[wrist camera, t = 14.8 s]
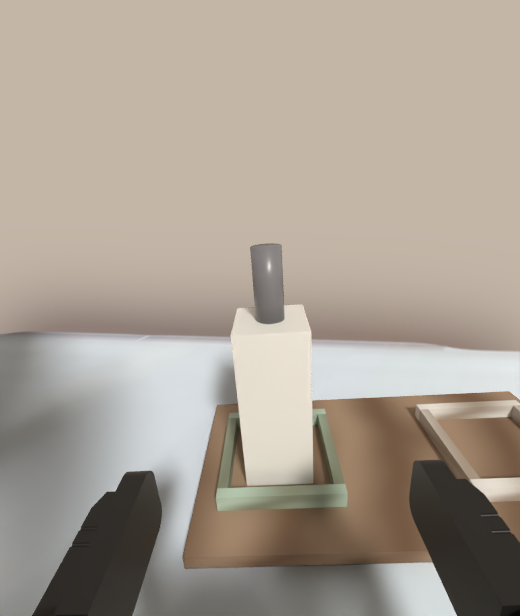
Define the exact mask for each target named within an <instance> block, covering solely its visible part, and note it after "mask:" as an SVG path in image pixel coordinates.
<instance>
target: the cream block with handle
mask: <svg viewBox="0 0 520 616" xmlns="http://www.w3.org/2000/svg"><path fill="white" fill-rule="evenodd" d="M250 250H251V262H252V276H253V287H254V301H255V307H252V308H238V309H237V313H236V316H235V320H234V324H233V329H232V332H231V343H232V352H233V362H234V371H235V380H236V389H237V399H238V408H239V417H240V426H241V435H242V445H243V454H244V463H245V472H246V482H247V486H260V485H288V484H313V423H312V353H311V329H310V326H309V323H308V320H307V317H306V314H305V311H304V308H303V305H286V306H284V292H283V269H282V246H281V245H280V244H259V245H254V246H251V247H250Z"/></svg>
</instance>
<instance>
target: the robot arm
mask: <svg viewBox="0 0 520 616" xmlns="http://www.w3.org/2000/svg"><path fill="white" fill-rule="evenodd" d="M409 504H410V510H411V514H412V517H413V520H414V522H415V524H416V526H417V529H418V531H419V533H420V535H421V537H422V540H423V542H424V544H425V546H426V548H427V551H428V553H429V555H430V557H431V559H432V561H433V564H434V566H435V568H436V570H437V572H438V575H439V577H440V579H441V581H442V583H443V586H444V588H445V590H446V592H447V594H448V597H449V599H450V601H451V603H452V605H453V607H454V610H455V612H456V614H457V616H520V542H519V541H518V540H517V538H516V537H515V535H514V534H512V533H511V532H510V529H509V527H508V526H507V524H506V523H505V522H504V520H503V519H502V518H501V517H499V515H498V512H497V511H496V509H495V508H494V507H493V505H492V504H491V503H490V501H489V500H488V498H487V497H486V496H485V494H484V493H482V492H481V491H480V490H479V489H477V488H476V487H475V486H474V485H473V484H471V483H470V482H469V481H468V480H467V479H456V478H455V476H454V475H453V473H452V472H451V471H450V469H449V468H448V466H447V465H446V463H445V462H444V461H443V460H417V461H414V463H413V468H412V476H411V485H410V493H409ZM161 516H162V508H161V502H160V498H159V494H158V490H157V485H156V481H155V477H154V473H153V472H152V471H135V472H126V473H125V474H124V476H123V478H122V480H121V482H120V484H119V486H118V488H117V490H116V492H106V493H105V495H104V496H103V497H102V498H101V499H100V500H99V501H98V502H97V503H96V504H95V505H94V506H93V507H92V508H91V510H90V512H89V514H88V515H87V517H86V519H85V521H84V523H83V524H82V526H81V530H80V531H79V532H78V534H77V535H76V537H75V539H74V541H73V543H72V547H70V548H69V550H68V552H67V554H66V555H65V557H64V559H63V561H62V563H61V564H60V566H59V568H58V570H57V572H56V574H55V575H54V577H53V579H52V581H51V583H50V584H49V586H48V588H47V590H46V592H45V594H44V595H43V597H42V599H41V601H40V603H39V604H38V606H37V608H36V610H35V612H34V613H33V615H32V616H132V615H133V611H134V608H135V605H136V602H137V599H138V596H139V592H140V589H141V586H142V583H143V580H144V576H145V573H146V570H147V567H148V564H149V560H150V557H151V554H152V551H153V548H154V544H155V541H156V538H157V535H158V532H159V528H160V524H161Z"/></svg>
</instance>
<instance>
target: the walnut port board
mask: <svg viewBox="0 0 520 616" xmlns="http://www.w3.org/2000/svg"><path fill="white" fill-rule="evenodd" d="M312 423H313V484H288V485H260V486H247V482H246V472H245V463H244V454H243V445H242V435H241V426H240V417H239V408H238V404H230V405H217V409H216V413H215V417H214V422H213V426H212V431H211V435H210V439H209V444H208V448H207V453H206V457H205V461H204V466H203V470H202V475H201V479H200V483H199V488H198V492H197V497H196V501H195V505H194V510H193V514H192V519H191V523H190V527H189V532H188V536H187V541H186V545H185V549H184V554H183V562H184V566H185V569H189V568H226V567H264V566H301V565H338V564H376V563H413V562H433V561H432V559H431V557H430V555H429V553H428V551H427V548H426V546H425V544H424V542H423V540H422V537H421V535H420V533H419V531H418V529H417V526H416V524H415V522H414V520H413V517H412V514H411V510H410V504H409V493H410V485H411V476H412V468H413V463H414V461H417V460H443V461H444V462H445V463H446V465H447V466H448V468H449V469H450V471H451V472H452V473H453V475H454V476H455V478H456V479H467V480H468V481H469V482H470V483H471V484H473V485H474V486H475V487H476V488H477V489H479V490H480V491H481V492H482V493H484V494H485V496H486V497H487V498H488V500H489V501H490V503H491V504H492V505H493V507H494V508H495V509H496V511H497V512H498V515H499V517H501V518H502V519H503V520H504V522H505V523H506V524H507V526H508V527H509V529H510V532H511V533H512V534H514V535H515V537H516V538H517V540H518V541H519V542H520V400H519V399H518V398H517V397H515V396H514V395H513V394H512V393H510V392H488V393H466V394H445V395H423V396H402V397H380V398H359V399H337V400H316V401H312Z"/></svg>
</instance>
